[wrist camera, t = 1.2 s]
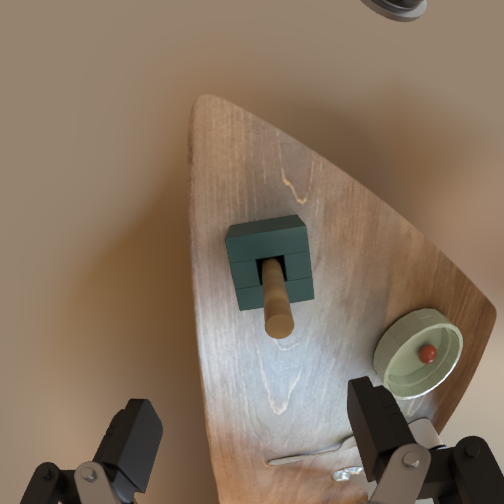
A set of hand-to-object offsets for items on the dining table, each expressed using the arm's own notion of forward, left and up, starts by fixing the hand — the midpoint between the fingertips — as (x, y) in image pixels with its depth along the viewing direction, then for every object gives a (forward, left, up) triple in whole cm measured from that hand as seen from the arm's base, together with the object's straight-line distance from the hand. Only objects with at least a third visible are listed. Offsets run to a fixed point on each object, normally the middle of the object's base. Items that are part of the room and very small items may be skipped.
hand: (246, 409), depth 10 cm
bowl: (+19, +21, -23) cm, 36 cm away
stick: (+1, +2, -23) cm, 23 cm away
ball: (+20, +23, -21) cm, 37 cm away
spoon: (+41, +6, -24) cm, 47 cm away
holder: (+1, +2, -23) cm, 23 cm away
